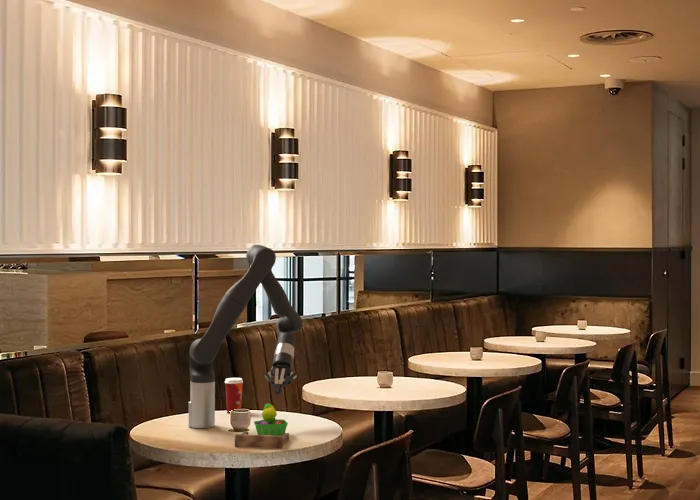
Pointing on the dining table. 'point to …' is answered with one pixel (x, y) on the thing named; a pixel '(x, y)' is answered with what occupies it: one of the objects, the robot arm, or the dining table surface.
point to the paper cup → (233, 393)
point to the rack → (261, 440)
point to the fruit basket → (270, 423)
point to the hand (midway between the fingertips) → (277, 394)
